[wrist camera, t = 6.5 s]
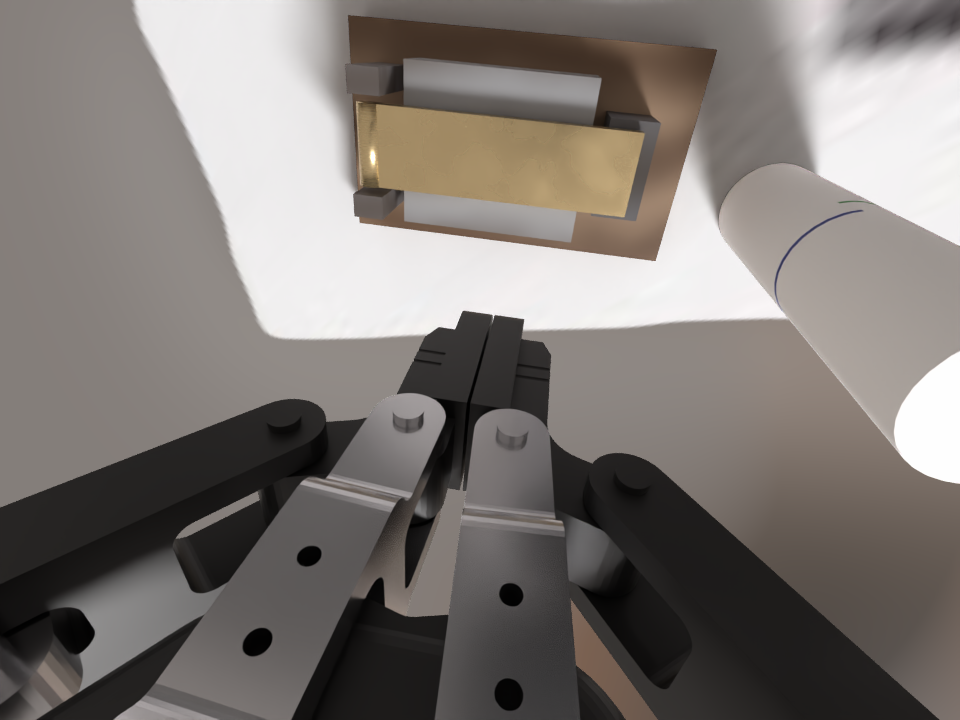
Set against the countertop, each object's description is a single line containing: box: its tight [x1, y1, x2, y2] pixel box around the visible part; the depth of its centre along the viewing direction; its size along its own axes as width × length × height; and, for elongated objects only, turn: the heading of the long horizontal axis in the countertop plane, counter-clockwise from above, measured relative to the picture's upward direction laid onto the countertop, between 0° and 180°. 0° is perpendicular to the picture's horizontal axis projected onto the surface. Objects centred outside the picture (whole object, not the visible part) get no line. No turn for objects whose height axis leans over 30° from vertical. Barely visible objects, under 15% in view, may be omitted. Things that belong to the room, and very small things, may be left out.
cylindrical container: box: [719, 163, 960, 483], centre depth 27 cm, size 7×7×25 cm
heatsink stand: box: [345, 15, 717, 261], centre depth 34 cm, size 14×24×9 cm, turn 85°
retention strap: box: [356, 101, 645, 217], centre depth 31 cm, size 5×18×2 cm, turn 85°
